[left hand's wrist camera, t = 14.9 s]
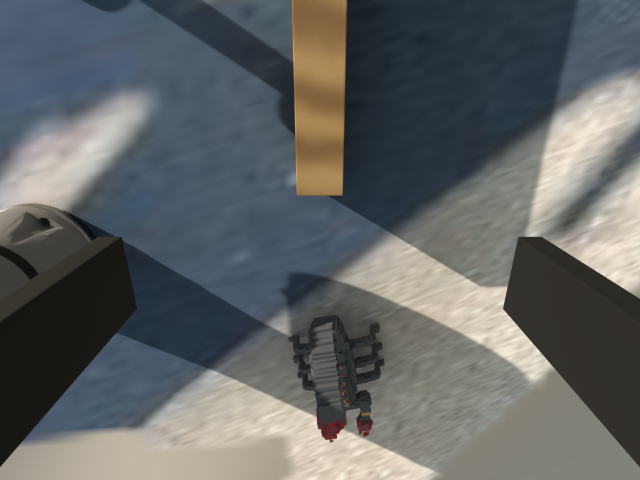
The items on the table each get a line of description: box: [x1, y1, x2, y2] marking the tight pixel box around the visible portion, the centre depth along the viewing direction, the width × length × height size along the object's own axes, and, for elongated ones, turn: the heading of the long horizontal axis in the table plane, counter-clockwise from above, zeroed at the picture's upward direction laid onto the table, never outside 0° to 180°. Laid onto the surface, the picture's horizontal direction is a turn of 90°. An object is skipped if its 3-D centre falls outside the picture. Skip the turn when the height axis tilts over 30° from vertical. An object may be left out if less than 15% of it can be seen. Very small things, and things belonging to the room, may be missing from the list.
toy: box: [289, 315, 385, 443], centre depth 46 cm, size 13×27×18 cm, turn 10°
